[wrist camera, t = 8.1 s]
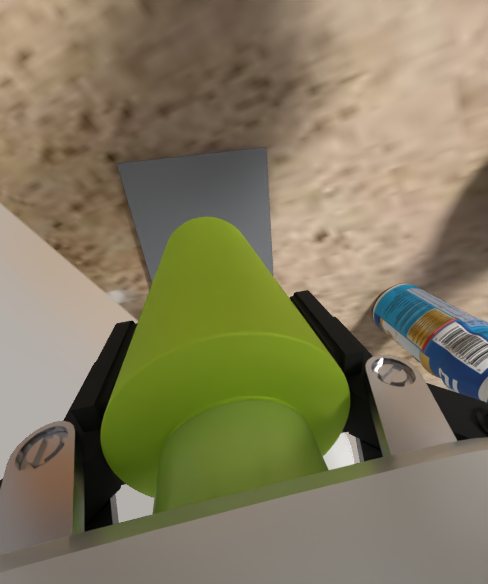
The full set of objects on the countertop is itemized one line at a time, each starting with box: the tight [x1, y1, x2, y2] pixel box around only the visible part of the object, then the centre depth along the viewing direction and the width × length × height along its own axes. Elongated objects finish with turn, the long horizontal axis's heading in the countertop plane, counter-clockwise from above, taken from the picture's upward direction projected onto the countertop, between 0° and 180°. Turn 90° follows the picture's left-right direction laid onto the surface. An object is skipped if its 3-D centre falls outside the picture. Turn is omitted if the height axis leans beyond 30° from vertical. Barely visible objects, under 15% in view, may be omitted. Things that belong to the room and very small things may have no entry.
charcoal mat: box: [117, 147, 273, 283], centre depth 29 cm, size 15×15×1 cm
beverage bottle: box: [373, 284, 488, 402], centre depth 31 cm, size 8×8×20 cm
